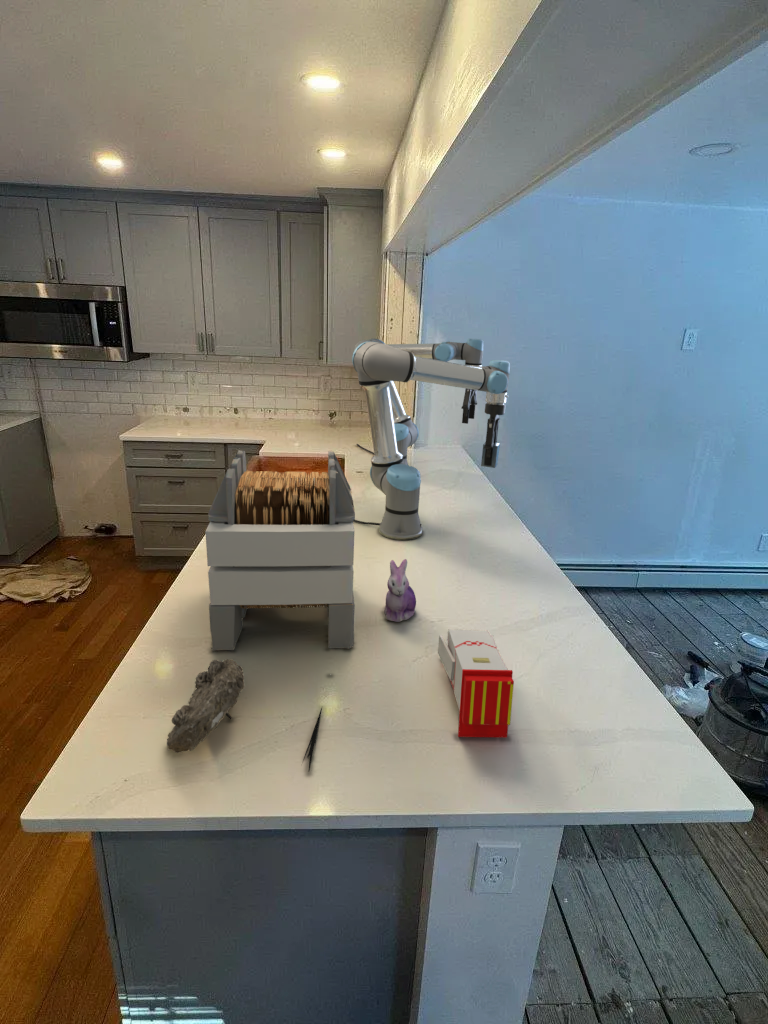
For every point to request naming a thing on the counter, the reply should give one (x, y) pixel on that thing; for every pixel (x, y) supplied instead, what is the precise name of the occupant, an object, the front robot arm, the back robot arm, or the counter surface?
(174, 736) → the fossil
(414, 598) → the figurine
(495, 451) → the brick
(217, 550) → the transformer
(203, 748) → the counter surface
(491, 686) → the toy
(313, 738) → the feather
